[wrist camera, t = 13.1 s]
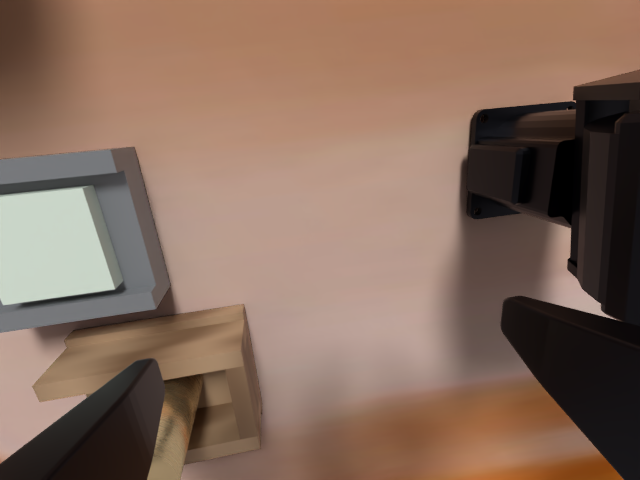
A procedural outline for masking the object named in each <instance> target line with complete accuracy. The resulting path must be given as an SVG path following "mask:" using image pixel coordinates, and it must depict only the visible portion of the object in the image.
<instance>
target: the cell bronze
mask: <svg viewBox="0 0 640 480" xmlns="http://www.w3.org/2000/svg"><path fill="white" fill-rule="evenodd" d="M163 382H164V385H165V397H164V403H163V408H162V413H161V418H160V424H159V429H158V434H157V439H156V445H155V450H154V455H153V459H152V463H151V467H150V471H149V474H148V478H147V480H180V478H181V474H182V470H183V466H184V461H185V457H186V453H187V449H188V444H189V440H190V436H191V432H192V427H193V423H194V419H195V414H196V410H197V406H198V402H199V397H200V393H201V389H202V384H203V375H202V374H196V375H190V376H185V377H179V378H174V379H168V380H163Z"/></svg>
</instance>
